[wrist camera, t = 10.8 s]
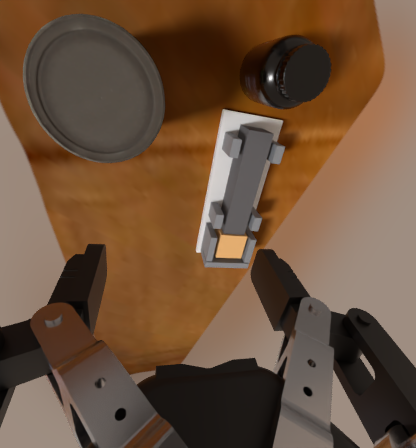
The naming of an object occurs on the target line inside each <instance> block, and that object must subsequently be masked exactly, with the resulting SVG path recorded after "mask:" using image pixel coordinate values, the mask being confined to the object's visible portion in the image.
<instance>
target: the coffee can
mask: <svg viewBox="0 0 416 448" xmlns="http://www.w3.org/2000/svg"><path fill="white" fill-rule="evenodd" d="M23 82H24V89H25V93H26V97H27V100H28V103H29V105H30V108H31V110H32V112H33V114H34V116H35V117H36V119H37V121H38V122H39V124H40V125H41V126H42V128H43V129H44V130H45V131H46V132H47V134H48V135H49V136H50V137H51V138H52V139H53V140H54V141H55V142H57V143H58V144H59V145H60V146H62V147H63V148H64V149H66V150H67V151H69V152H71V153H72V154H74V155H76V156H79V157H81V158H84V159H87V160H90V161H94V162H100V163H115V162H122V161H125V160H129V159H131V158H133V157H135V156H137V155H139V154H141V153H142V152H143V151H145V150H146V149H147V148H148V147H149V146H150V145H151V144H152V142H153V141H154V139H155V138H156V136H157V134H158V133H159V131H160V128H161V125H162V122H163V119H164V113H165V95H164V89H163V84H162V80H161V77H160V74H159V72H158V69H157V67H156V65H155V63H154V61H153V60H152V58H151V56H150V55H149V54H148V52H147V51H146V50H145V48H144V47H143V46H142V44H141V43H140V42H139V41H138V40H137V39H136V38H135V37H133V36H132V35H131V34H130V33H129V32H127V31H126V30H125V29H124V28H122V27H120V26H119V25H117V24H115V23H113V22H111V21H109V20H107V19H104V18H101V17H97V16H93V15H87V14H72V15H66V16H62V17H59V18H57V19H55V20H53V21H51V22H49V23H47V24H46V25H45V26H43V27H42V28H41V29H40V30H39V31H38V32H37V33H36V35H35V36H34V38H33V39H32V41H31V42H30V44H29V46H28V49H27V52H26V55H25V58H24V65H23Z"/></svg>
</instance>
